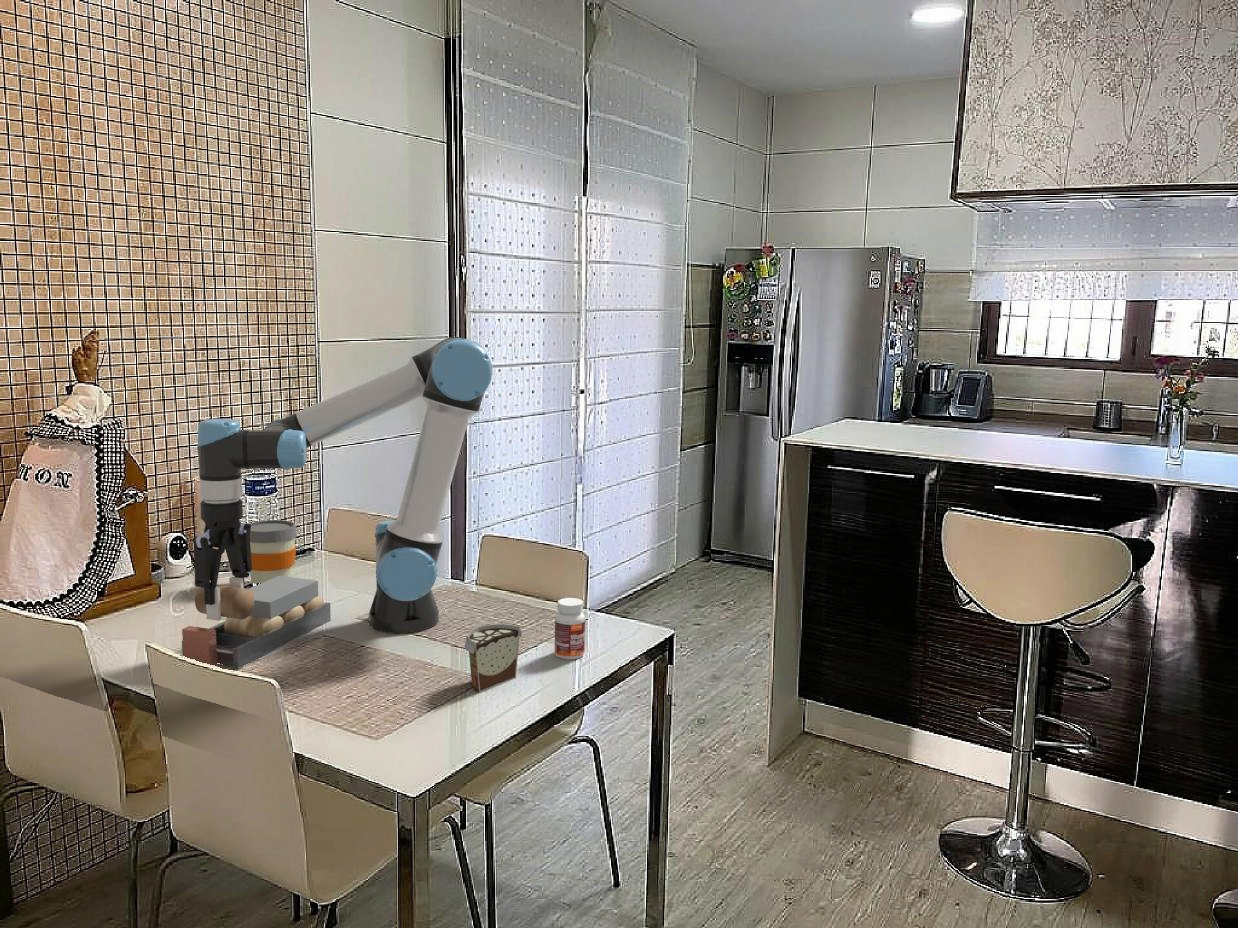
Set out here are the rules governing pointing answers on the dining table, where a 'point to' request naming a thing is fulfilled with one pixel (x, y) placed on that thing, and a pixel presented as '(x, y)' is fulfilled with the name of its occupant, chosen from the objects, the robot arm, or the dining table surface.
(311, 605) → the roller
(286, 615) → the roller
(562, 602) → the pill bottle
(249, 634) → the roller
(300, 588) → the slab
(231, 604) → the roller
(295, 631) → the roller bed
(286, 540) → the reusable coffee cup
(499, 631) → the food container
